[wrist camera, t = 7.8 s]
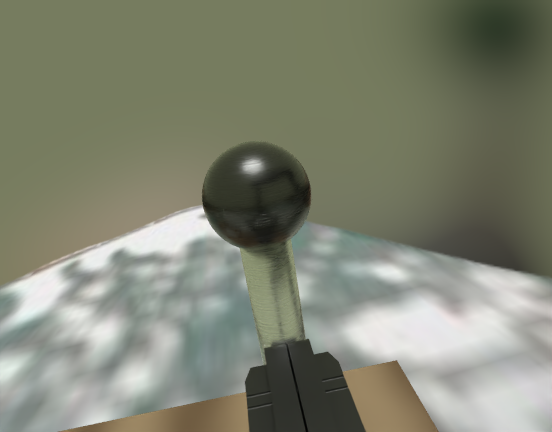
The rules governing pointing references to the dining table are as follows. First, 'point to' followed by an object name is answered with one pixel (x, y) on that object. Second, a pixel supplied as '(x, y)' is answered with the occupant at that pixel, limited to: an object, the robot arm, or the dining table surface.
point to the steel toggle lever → (262, 230)
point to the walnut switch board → (234, 414)
